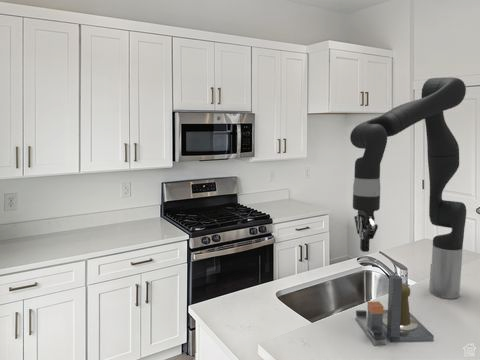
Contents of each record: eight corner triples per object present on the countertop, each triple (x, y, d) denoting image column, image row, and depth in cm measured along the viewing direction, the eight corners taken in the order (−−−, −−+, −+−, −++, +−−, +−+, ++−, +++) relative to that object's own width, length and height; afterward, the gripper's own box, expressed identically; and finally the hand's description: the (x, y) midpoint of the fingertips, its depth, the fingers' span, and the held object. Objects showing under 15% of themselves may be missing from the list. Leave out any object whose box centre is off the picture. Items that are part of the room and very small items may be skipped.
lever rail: (355, 318, 118) (355, 310, 118) (365, 318, 118) (365, 310, 118) (374, 345, 103) (374, 336, 103) (385, 345, 103) (385, 335, 103)
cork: (404, 315, 116) (406, 280, 114) (414, 325, 110) (416, 288, 108) (384, 316, 116) (386, 281, 114) (393, 326, 110) (395, 289, 108)
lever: (365, 327, 109) (366, 300, 108) (376, 326, 109) (377, 300, 108) (372, 336, 104) (373, 308, 103) (383, 336, 104) (385, 308, 103)
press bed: (368, 314, 121) (370, 259, 118) (406, 313, 121) (408, 258, 119) (390, 342, 105) (393, 278, 103) (433, 340, 105) (437, 277, 103)
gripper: (388, 196, 105) (386, 257, 107) (370, 189, 118) (368, 244, 121) (361, 197, 105) (359, 258, 107) (346, 190, 118) (345, 244, 120)
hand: (364, 250), depth 114 cm, fingers closed
